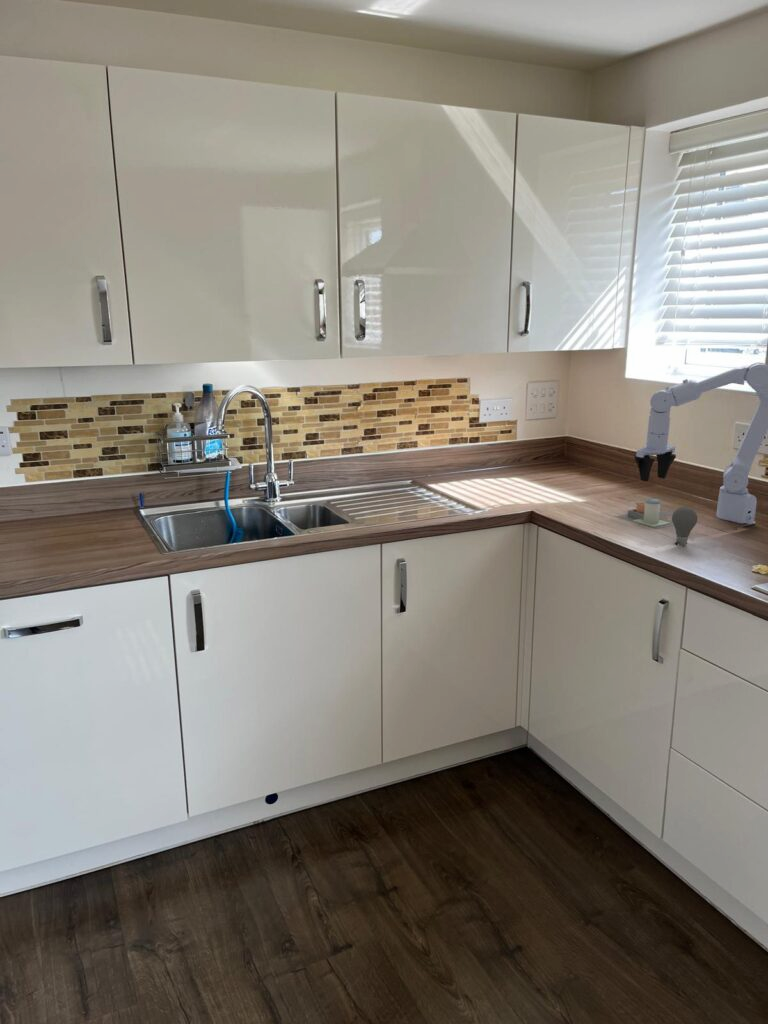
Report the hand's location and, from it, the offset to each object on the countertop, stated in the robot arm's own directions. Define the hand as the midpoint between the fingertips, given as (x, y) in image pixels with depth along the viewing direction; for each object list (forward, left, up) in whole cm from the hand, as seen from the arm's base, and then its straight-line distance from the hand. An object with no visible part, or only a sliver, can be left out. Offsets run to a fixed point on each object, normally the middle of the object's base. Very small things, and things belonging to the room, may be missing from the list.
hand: (652, 479), depth 221 cm
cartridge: (-10, +12, -8) cm, 18 cm away
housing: (-8, +8, -10) cm, 15 cm away
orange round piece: (-5, +9, -8) cm, 14 cm away
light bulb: (-25, +19, -10) cm, 33 cm away
